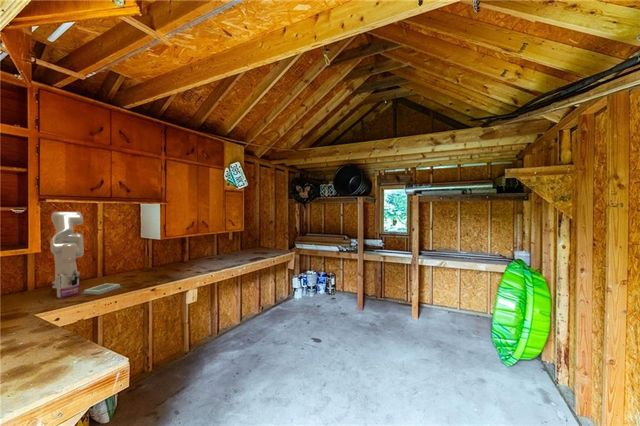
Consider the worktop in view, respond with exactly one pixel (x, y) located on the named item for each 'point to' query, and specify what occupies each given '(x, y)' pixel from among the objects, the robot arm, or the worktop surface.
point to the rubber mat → (103, 292)
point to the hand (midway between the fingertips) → (68, 284)
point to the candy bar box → (66, 286)
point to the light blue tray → (95, 291)
